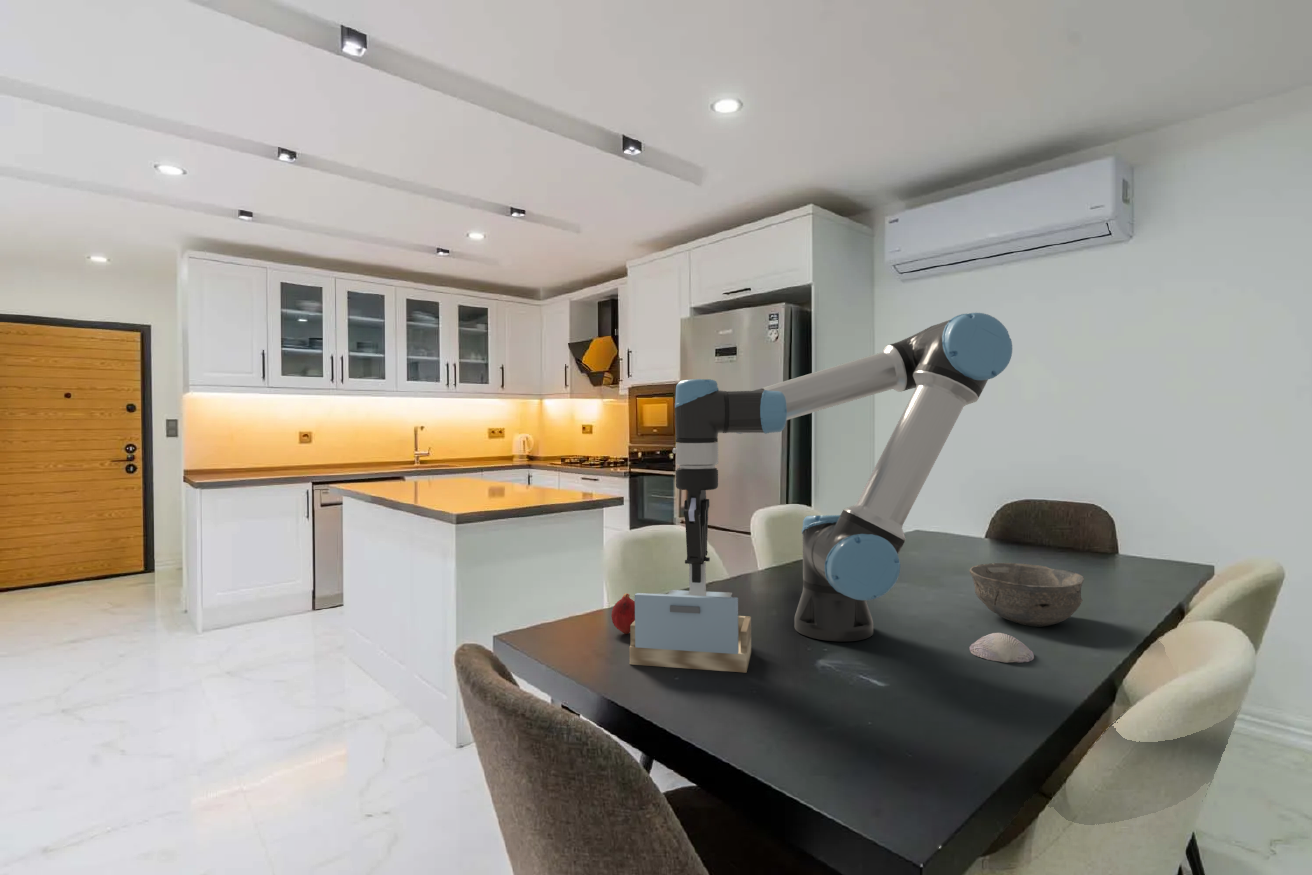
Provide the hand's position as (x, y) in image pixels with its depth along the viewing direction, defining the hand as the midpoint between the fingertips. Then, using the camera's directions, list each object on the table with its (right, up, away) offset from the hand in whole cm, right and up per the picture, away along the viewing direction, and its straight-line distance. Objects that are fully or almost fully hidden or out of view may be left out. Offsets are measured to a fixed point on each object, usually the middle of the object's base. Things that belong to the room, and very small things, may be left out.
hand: (697, 599), depth 115 cm
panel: (-2, -7, -6) cm, 10 cm away
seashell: (+54, -10, -1) cm, 55 cm away
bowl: (+69, -9, +19) cm, 72 cm away
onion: (-13, -10, +13) cm, 21 cm away
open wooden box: (0, -10, +2) cm, 10 cm away
